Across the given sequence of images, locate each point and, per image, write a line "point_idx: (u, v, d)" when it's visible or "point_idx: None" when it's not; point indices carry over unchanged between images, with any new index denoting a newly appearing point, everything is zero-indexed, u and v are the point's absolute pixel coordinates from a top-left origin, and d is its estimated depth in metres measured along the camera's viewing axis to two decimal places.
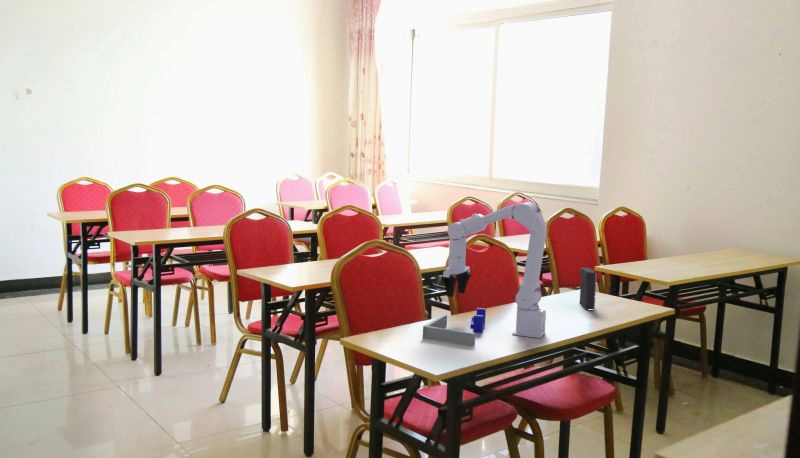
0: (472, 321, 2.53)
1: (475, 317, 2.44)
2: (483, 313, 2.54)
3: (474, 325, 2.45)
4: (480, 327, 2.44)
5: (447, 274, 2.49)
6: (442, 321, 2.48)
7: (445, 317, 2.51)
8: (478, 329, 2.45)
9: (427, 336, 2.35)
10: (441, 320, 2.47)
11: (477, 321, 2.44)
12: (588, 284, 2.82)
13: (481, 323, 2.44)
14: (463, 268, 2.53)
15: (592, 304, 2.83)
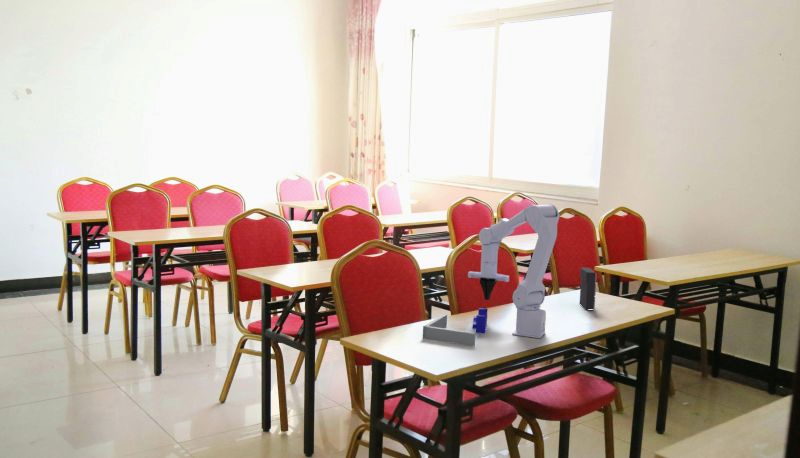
0: (474, 321, 2.53)
1: (478, 317, 2.44)
2: (485, 313, 2.54)
3: (477, 325, 2.44)
4: (483, 327, 2.44)
5: None
6: (442, 321, 2.48)
7: (445, 317, 2.51)
8: (480, 329, 2.44)
9: (427, 336, 2.35)
10: (441, 320, 2.47)
11: (480, 321, 2.44)
12: (588, 284, 2.82)
13: (484, 323, 2.44)
14: (485, 273, 2.57)
15: (592, 304, 2.83)
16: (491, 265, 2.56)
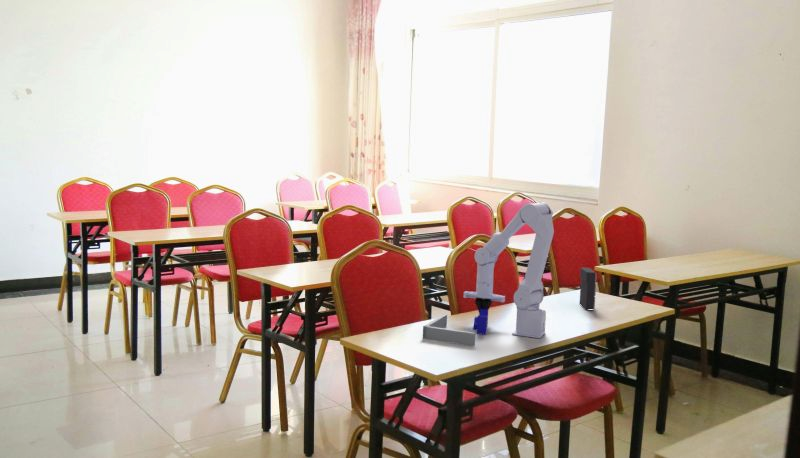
0: (475, 322, 2.51)
1: (479, 318, 2.43)
2: (486, 313, 2.53)
3: (478, 326, 2.43)
4: (484, 328, 2.43)
5: (464, 294, 2.59)
6: (442, 321, 2.48)
7: (445, 317, 2.51)
8: (482, 330, 2.43)
9: (427, 336, 2.35)
10: (441, 320, 2.47)
11: (481, 321, 2.43)
12: (588, 284, 2.82)
13: (485, 324, 2.43)
14: (481, 293, 2.54)
15: (592, 304, 2.83)
16: (487, 285, 2.53)
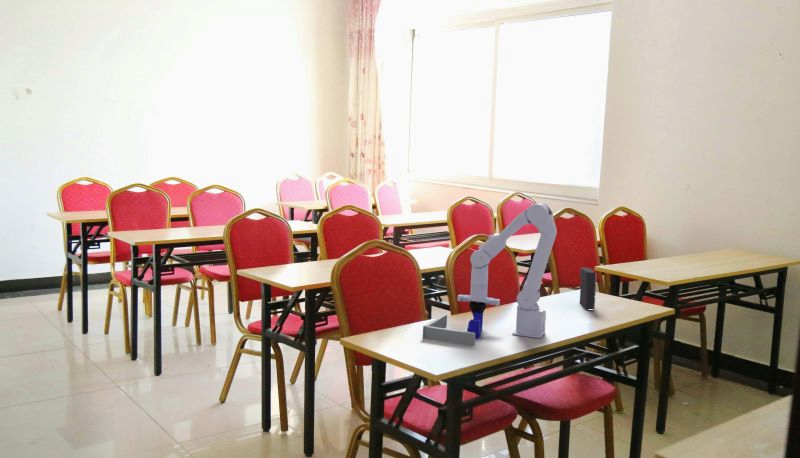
0: (469, 326, 2.45)
1: (472, 322, 2.37)
2: (480, 317, 2.47)
3: (471, 330, 2.37)
4: (477, 332, 2.37)
5: None
6: (442, 321, 2.48)
7: (445, 317, 2.51)
8: None
9: (427, 336, 2.35)
10: (441, 320, 2.47)
11: (474, 325, 2.37)
12: (588, 284, 2.82)
13: (478, 328, 2.37)
14: (475, 297, 2.48)
15: (592, 304, 2.83)
16: (481, 288, 2.47)
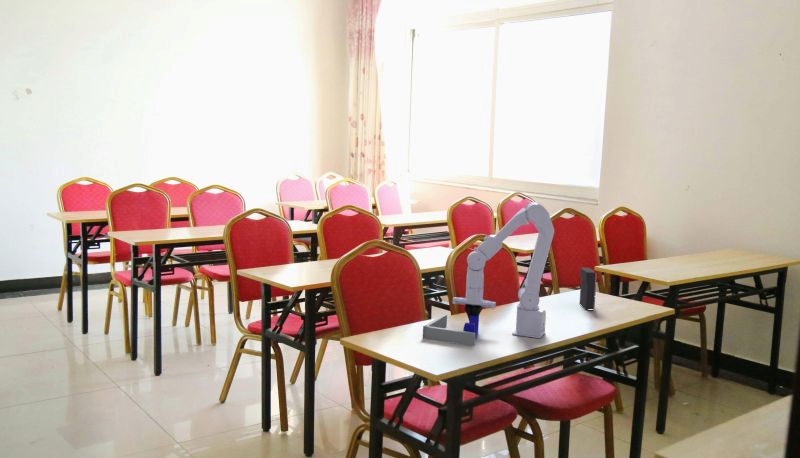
0: (464, 329, 2.41)
1: (466, 325, 2.33)
2: (476, 321, 2.42)
3: None
4: None
5: (453, 300, 2.48)
6: (442, 321, 2.48)
7: (445, 317, 2.51)
8: None
9: (427, 336, 2.35)
10: (441, 320, 2.47)
11: (468, 329, 2.33)
12: (588, 284, 2.82)
13: (472, 331, 2.32)
14: (470, 300, 2.43)
15: (592, 304, 2.83)
16: (476, 291, 2.43)
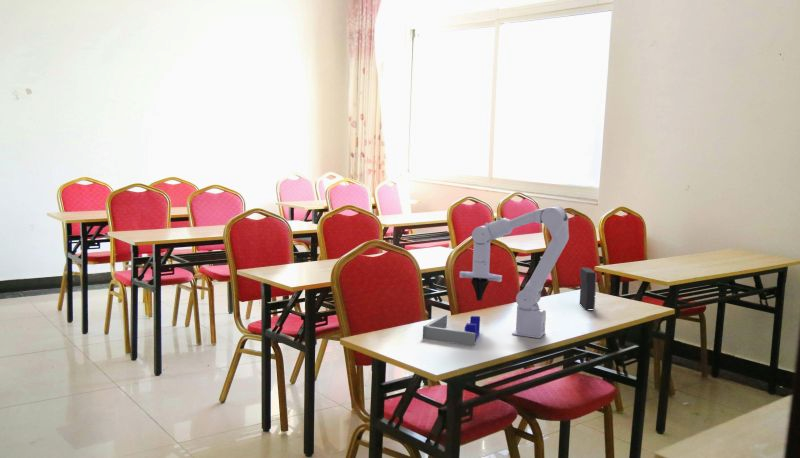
0: (465, 330, 2.41)
1: (467, 326, 2.32)
2: (477, 321, 2.42)
3: None
4: None
5: (460, 274, 2.53)
6: (442, 321, 2.48)
7: (445, 317, 2.51)
8: None
9: (427, 336, 2.35)
10: (441, 320, 2.47)
11: (470, 330, 2.32)
12: (588, 284, 2.82)
13: (474, 332, 2.32)
14: (477, 273, 2.48)
15: (592, 304, 2.83)
16: (483, 264, 2.47)
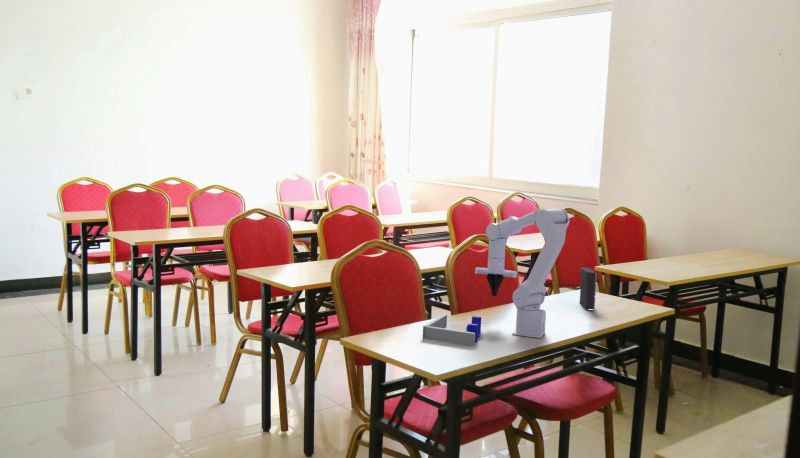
0: (467, 330, 2.41)
1: (469, 326, 2.32)
2: (478, 321, 2.42)
3: None
4: None
5: None
6: (442, 321, 2.48)
7: (445, 317, 2.51)
8: None
9: (427, 336, 2.35)
10: (441, 320, 2.47)
11: (471, 330, 2.32)
12: (588, 284, 2.82)
13: (475, 332, 2.32)
14: (493, 269, 2.54)
15: (592, 304, 2.83)
16: (498, 261, 2.53)
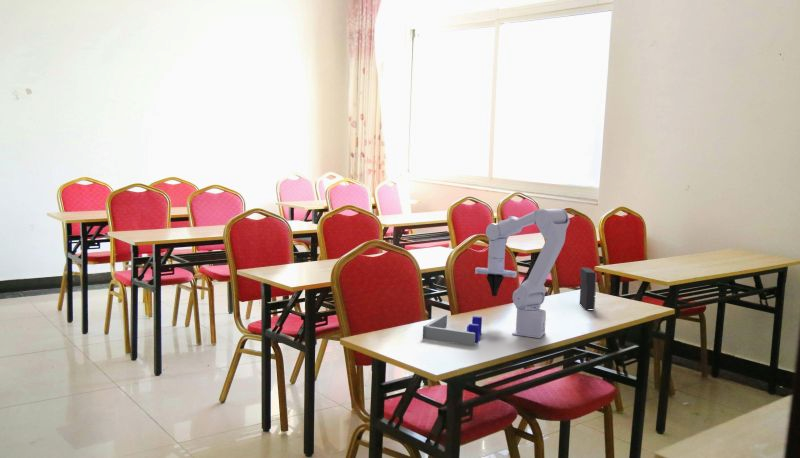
0: (467, 330, 2.41)
1: (470, 326, 2.32)
2: (479, 322, 2.42)
3: None
4: (475, 337, 2.32)
5: None
6: (442, 321, 2.48)
7: (445, 317, 2.51)
8: None
9: (427, 336, 2.35)
10: (441, 320, 2.47)
11: (472, 330, 2.32)
12: (588, 284, 2.82)
13: (476, 332, 2.32)
14: (493, 269, 2.54)
15: (592, 304, 2.83)
16: (498, 261, 2.53)
